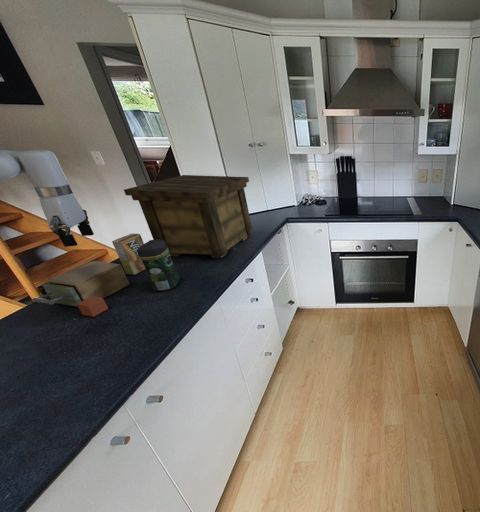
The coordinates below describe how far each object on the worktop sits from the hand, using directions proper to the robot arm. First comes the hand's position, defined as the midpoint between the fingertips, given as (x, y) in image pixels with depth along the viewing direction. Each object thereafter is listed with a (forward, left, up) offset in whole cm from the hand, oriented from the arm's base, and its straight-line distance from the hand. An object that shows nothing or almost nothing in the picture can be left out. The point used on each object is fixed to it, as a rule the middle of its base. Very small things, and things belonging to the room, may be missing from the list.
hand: (80, 240), depth 95 cm
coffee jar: (+21, -3, -21) cm, 29 cm away
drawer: (-5, -5, -20) cm, 21 cm away
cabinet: (-2, -1, -21) cm, 21 cm away
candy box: (+6, +15, -21) cm, 26 cm away
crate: (+30, +34, -21) cm, 50 cm away
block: (+4, -15, -21) cm, 26 cm away
